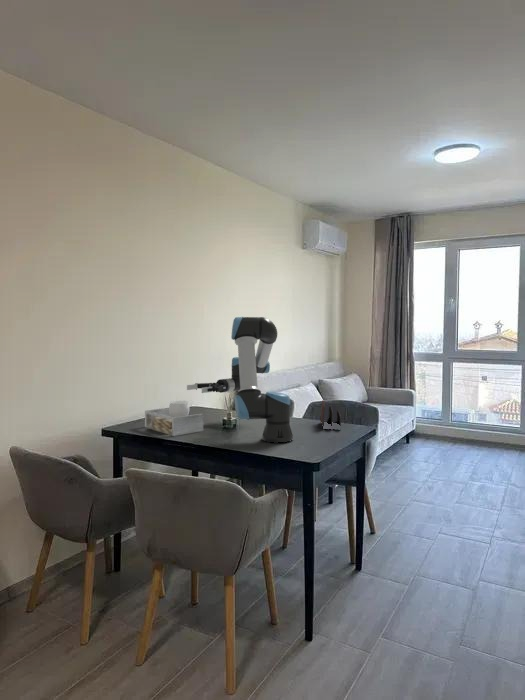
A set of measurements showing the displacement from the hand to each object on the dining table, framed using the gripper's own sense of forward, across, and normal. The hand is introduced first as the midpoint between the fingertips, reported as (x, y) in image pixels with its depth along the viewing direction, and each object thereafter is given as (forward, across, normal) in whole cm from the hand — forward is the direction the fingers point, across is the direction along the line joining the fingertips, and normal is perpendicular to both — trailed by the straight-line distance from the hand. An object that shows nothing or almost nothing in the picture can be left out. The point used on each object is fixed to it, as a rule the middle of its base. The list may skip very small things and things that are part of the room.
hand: (194, 388), depth 271 cm
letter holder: (-59, -47, -22) cm, 78 cm away
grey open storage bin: (+14, 0, -21) cm, 25 cm away
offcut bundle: (+19, 0, -20) cm, 28 cm away
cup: (+10, 0, -21) cm, 24 cm away
